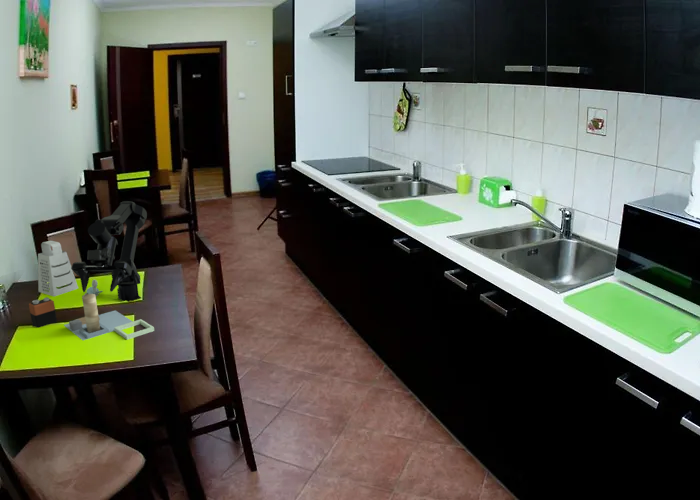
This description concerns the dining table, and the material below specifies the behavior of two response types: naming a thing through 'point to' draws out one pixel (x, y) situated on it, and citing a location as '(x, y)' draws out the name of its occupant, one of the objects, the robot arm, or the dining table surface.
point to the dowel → (91, 313)
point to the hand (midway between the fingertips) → (97, 291)
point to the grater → (55, 270)
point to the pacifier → (93, 289)
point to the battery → (42, 312)
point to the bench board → (106, 324)
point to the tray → (135, 334)
